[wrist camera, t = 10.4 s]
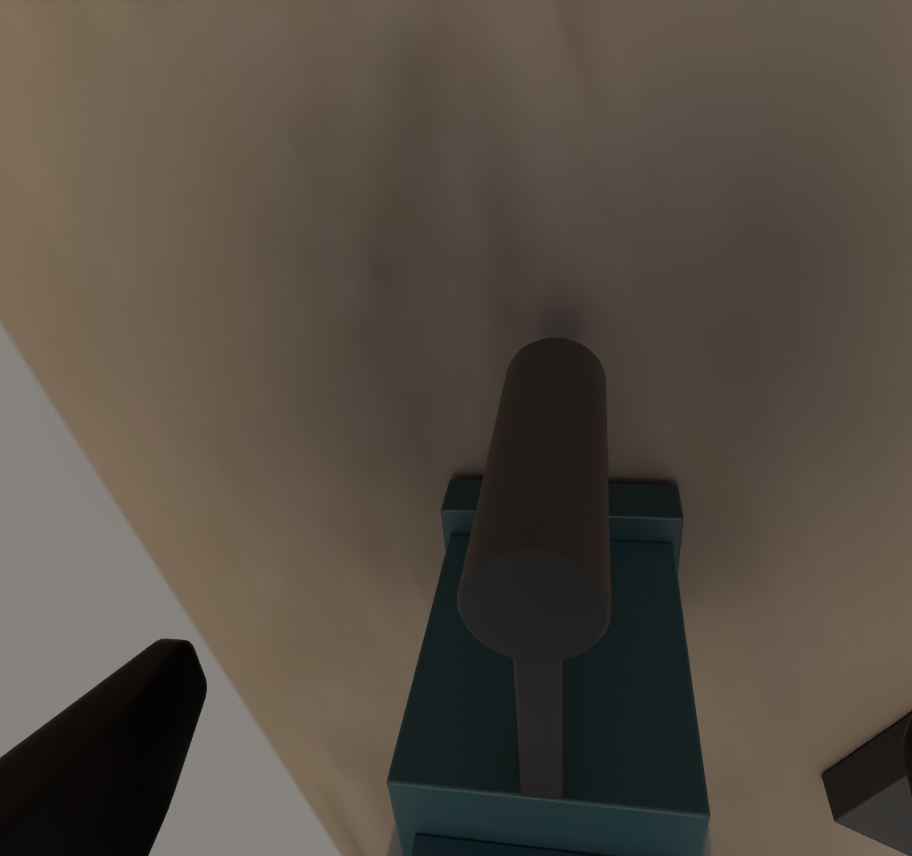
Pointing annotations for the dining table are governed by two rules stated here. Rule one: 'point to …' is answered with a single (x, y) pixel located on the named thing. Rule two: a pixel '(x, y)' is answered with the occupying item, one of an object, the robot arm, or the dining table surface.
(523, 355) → the iron
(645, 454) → the dining table surface
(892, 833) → the switch block
